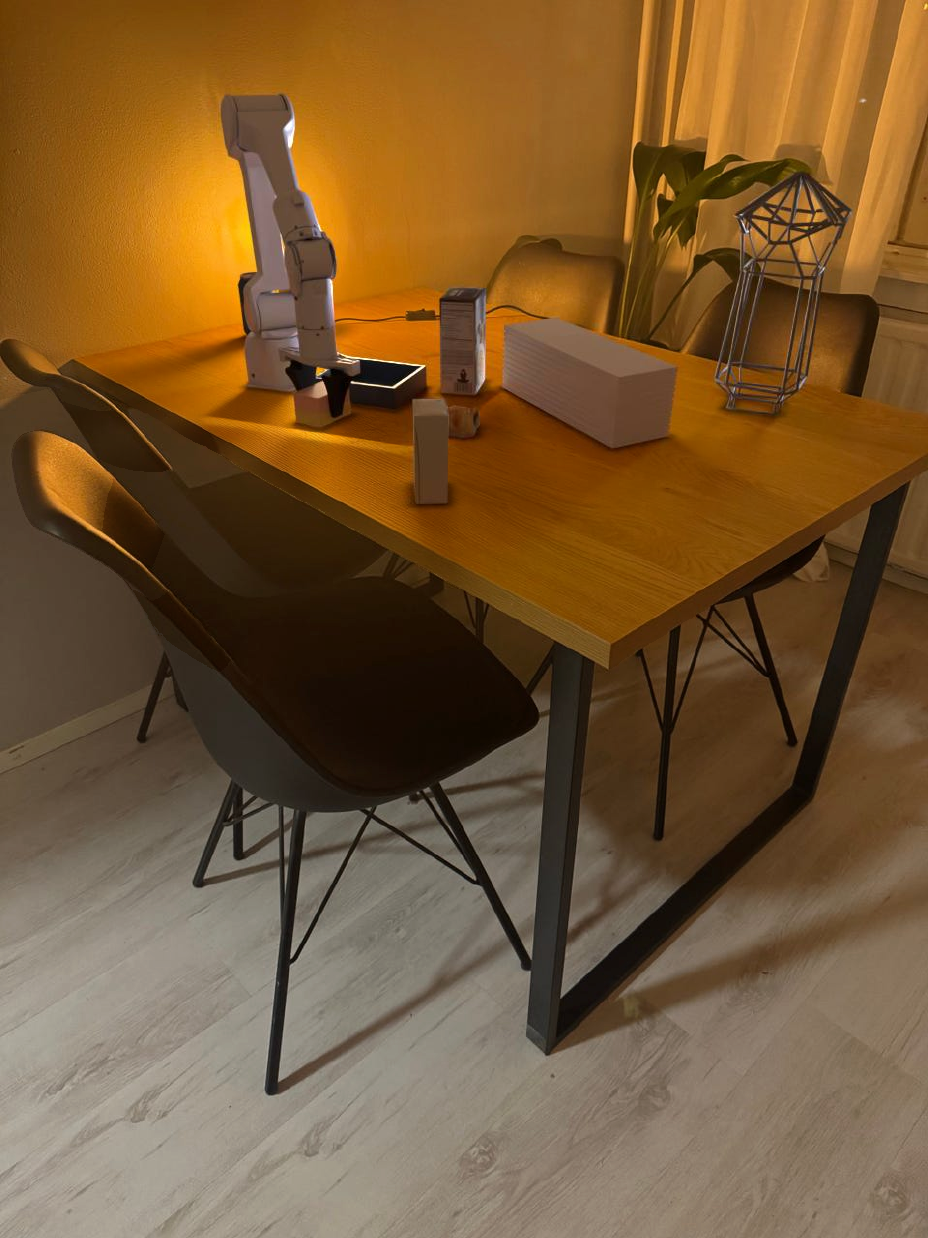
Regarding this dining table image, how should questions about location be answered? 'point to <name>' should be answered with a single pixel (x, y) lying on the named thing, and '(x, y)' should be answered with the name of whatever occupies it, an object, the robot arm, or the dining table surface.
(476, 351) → the coffee box
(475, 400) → the dining table surface
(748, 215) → the geometric lantern
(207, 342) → the dining table surface
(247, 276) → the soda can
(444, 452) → the cosmetic box
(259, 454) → the dining table surface
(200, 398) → the dining table surface
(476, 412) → the pastry
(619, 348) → the stack of papers
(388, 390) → the storage box
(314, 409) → the pink rectangular block
